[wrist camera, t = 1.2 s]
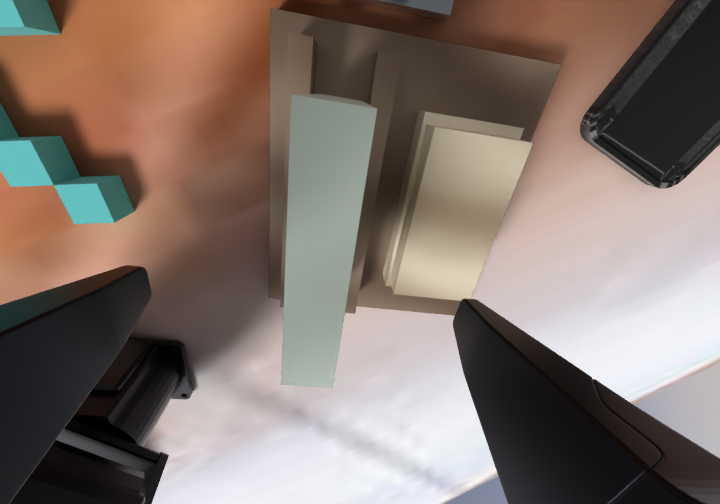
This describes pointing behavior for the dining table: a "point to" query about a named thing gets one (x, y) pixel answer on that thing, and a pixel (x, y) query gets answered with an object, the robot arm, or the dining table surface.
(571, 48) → the dining table surface
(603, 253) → the dining table surface
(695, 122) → the phone
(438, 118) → the offcut lower
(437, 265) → the offcut upper
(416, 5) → the stand
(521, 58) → the rack
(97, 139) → the dining table surface
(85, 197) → the alien figure
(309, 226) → the panel
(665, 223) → the dining table surface
